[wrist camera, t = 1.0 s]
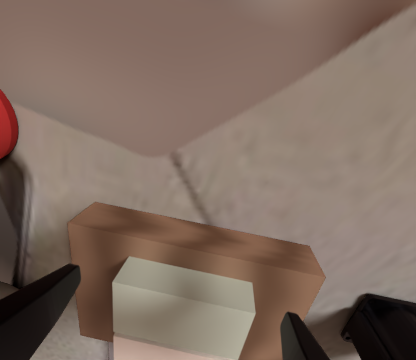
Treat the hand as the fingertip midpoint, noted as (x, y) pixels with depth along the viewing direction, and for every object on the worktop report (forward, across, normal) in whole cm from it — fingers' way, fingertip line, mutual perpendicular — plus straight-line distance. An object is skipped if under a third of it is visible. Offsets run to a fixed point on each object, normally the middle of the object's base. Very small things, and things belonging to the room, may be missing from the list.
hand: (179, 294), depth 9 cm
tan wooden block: (+10, 0, +10) cm, 14 cm away
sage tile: (+6, 0, +8) cm, 10 cm away
